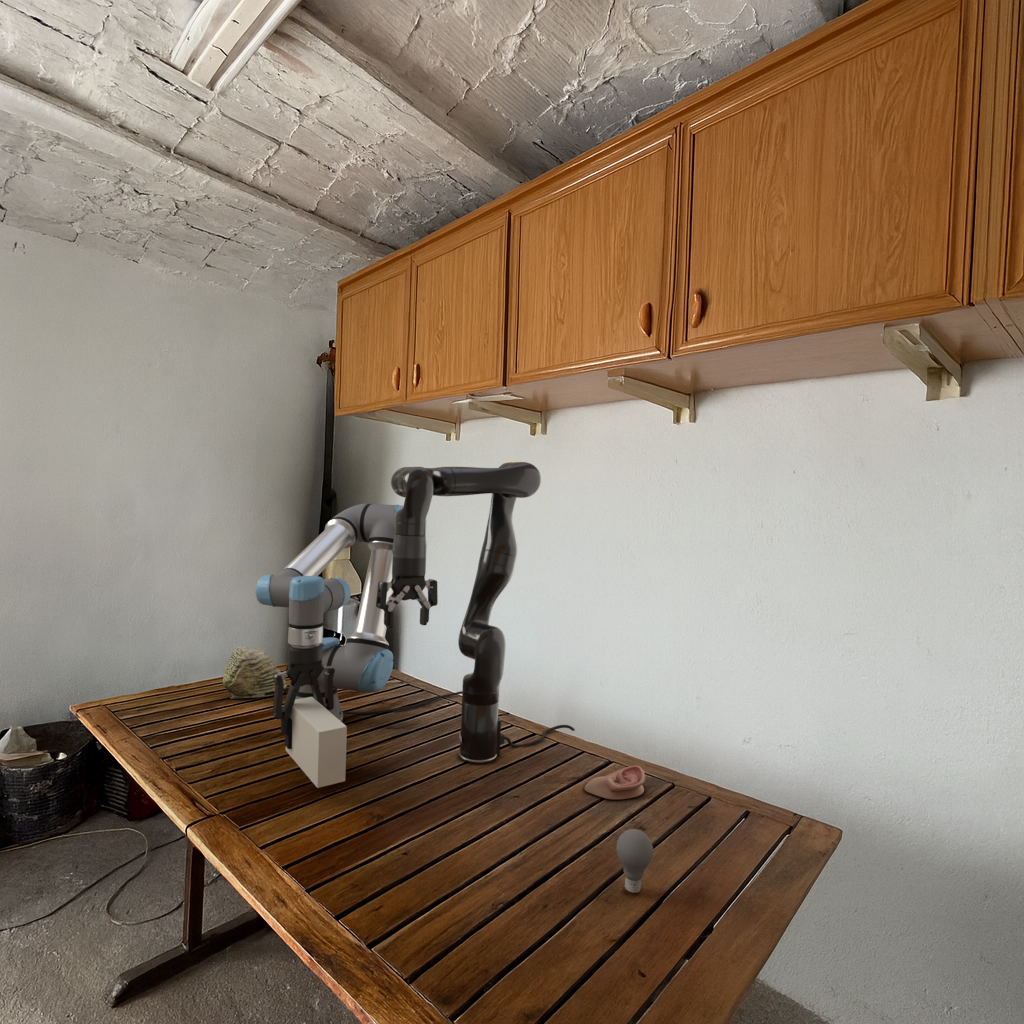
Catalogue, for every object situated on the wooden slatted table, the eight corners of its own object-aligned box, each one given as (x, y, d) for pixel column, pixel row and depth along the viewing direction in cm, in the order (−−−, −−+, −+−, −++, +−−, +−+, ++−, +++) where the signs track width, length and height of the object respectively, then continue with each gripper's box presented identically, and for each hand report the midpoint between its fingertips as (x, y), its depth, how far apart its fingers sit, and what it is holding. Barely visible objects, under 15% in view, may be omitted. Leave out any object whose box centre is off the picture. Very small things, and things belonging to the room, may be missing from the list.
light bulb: (610, 879, 108) (613, 822, 108) (644, 879, 109) (647, 822, 109) (619, 902, 102) (622, 840, 102) (655, 901, 103) (658, 840, 103)
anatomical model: (583, 778, 139) (588, 757, 150) (582, 795, 139) (587, 774, 150) (645, 786, 136) (645, 764, 147) (644, 804, 136) (644, 781, 148)
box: (285, 750, 146) (286, 700, 146) (310, 744, 150) (312, 696, 150) (317, 788, 129) (318, 732, 129) (345, 781, 133) (347, 726, 132)
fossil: (218, 695, 195) (220, 647, 195) (278, 685, 208) (279, 640, 207) (228, 703, 189) (230, 653, 188) (289, 692, 201) (290, 645, 201)
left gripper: (267, 653, 136) (264, 759, 137) (351, 643, 147) (348, 741, 148) (257, 645, 142) (255, 746, 143) (339, 636, 153) (336, 730, 154)
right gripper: (387, 557, 136) (384, 632, 136) (445, 556, 144) (442, 626, 145) (373, 553, 142) (370, 625, 142) (429, 553, 150) (426, 620, 151)
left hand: (302, 743), depth 146 cm, fingers closed on box, 6 cm apart
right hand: (406, 626), depth 144 cm, fingers open, 8 cm apart
